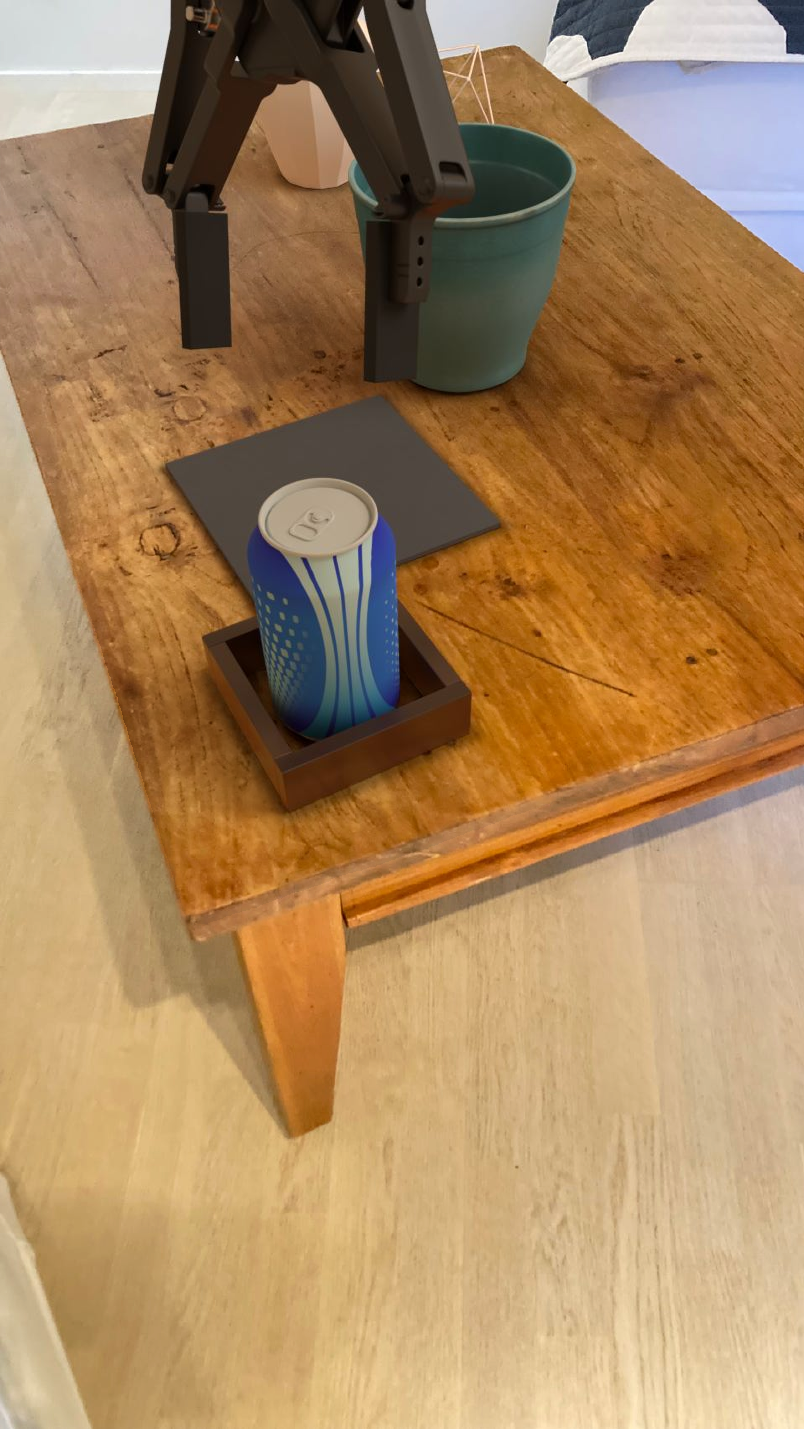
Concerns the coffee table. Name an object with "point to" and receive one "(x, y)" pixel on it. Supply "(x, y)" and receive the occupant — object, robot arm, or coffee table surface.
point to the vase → (306, 134)
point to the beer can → (326, 606)
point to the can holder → (357, 747)
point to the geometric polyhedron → (470, 76)
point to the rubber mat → (336, 446)
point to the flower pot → (488, 257)
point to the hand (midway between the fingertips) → (291, 363)
